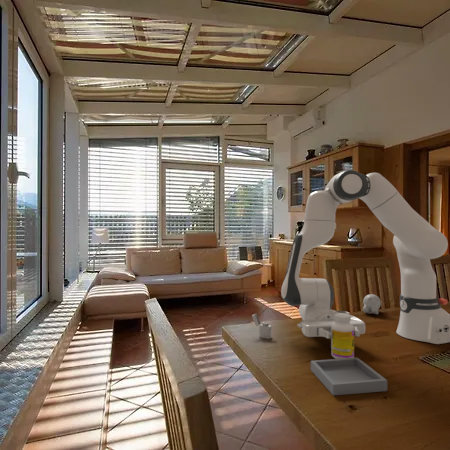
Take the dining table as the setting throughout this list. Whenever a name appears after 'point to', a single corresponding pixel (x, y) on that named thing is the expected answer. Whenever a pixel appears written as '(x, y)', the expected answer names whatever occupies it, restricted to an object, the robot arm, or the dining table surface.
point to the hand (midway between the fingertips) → (343, 335)
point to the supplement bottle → (342, 337)
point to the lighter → (262, 327)
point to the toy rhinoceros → (371, 304)
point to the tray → (348, 376)
